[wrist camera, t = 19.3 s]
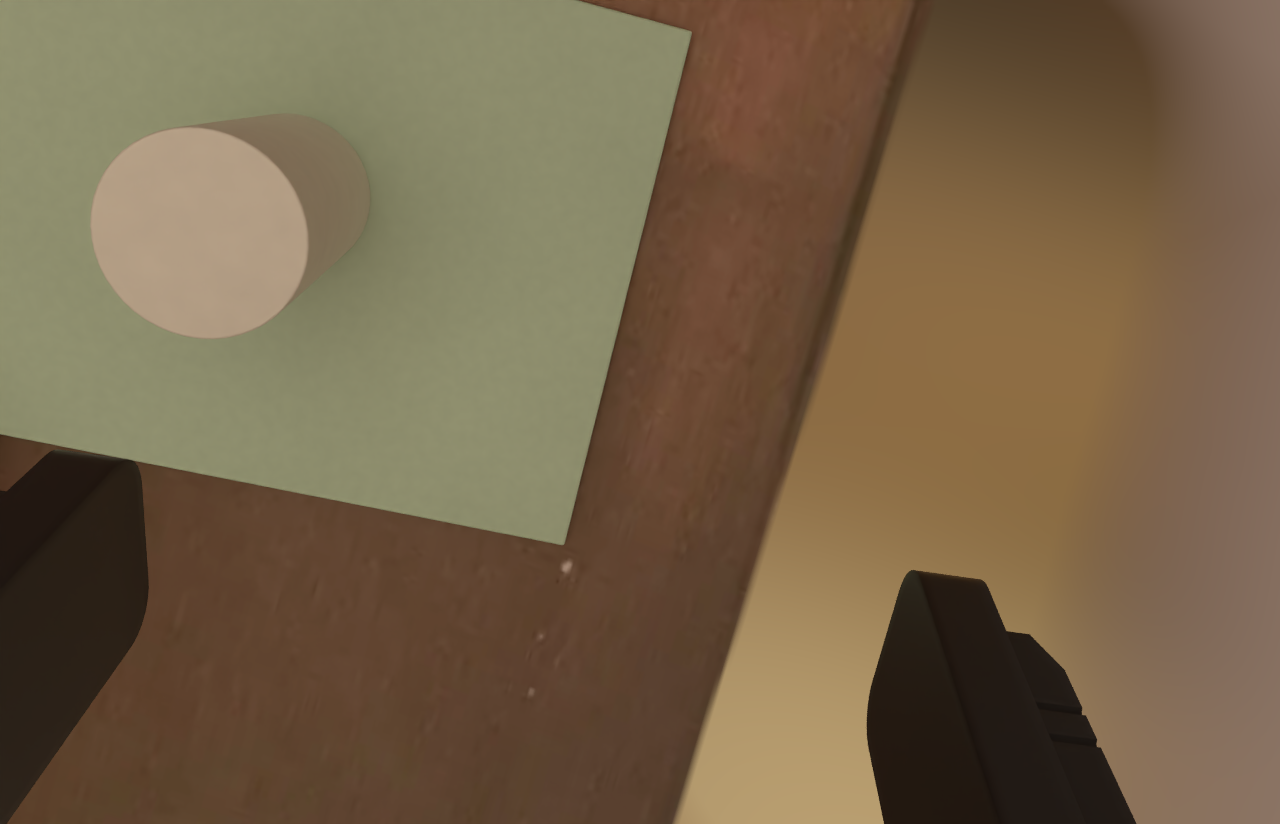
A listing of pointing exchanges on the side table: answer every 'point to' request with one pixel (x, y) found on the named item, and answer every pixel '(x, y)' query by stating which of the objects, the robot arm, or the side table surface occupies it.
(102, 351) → the mat
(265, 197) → the cylinder
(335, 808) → the side table surface
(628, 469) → the side table surface
